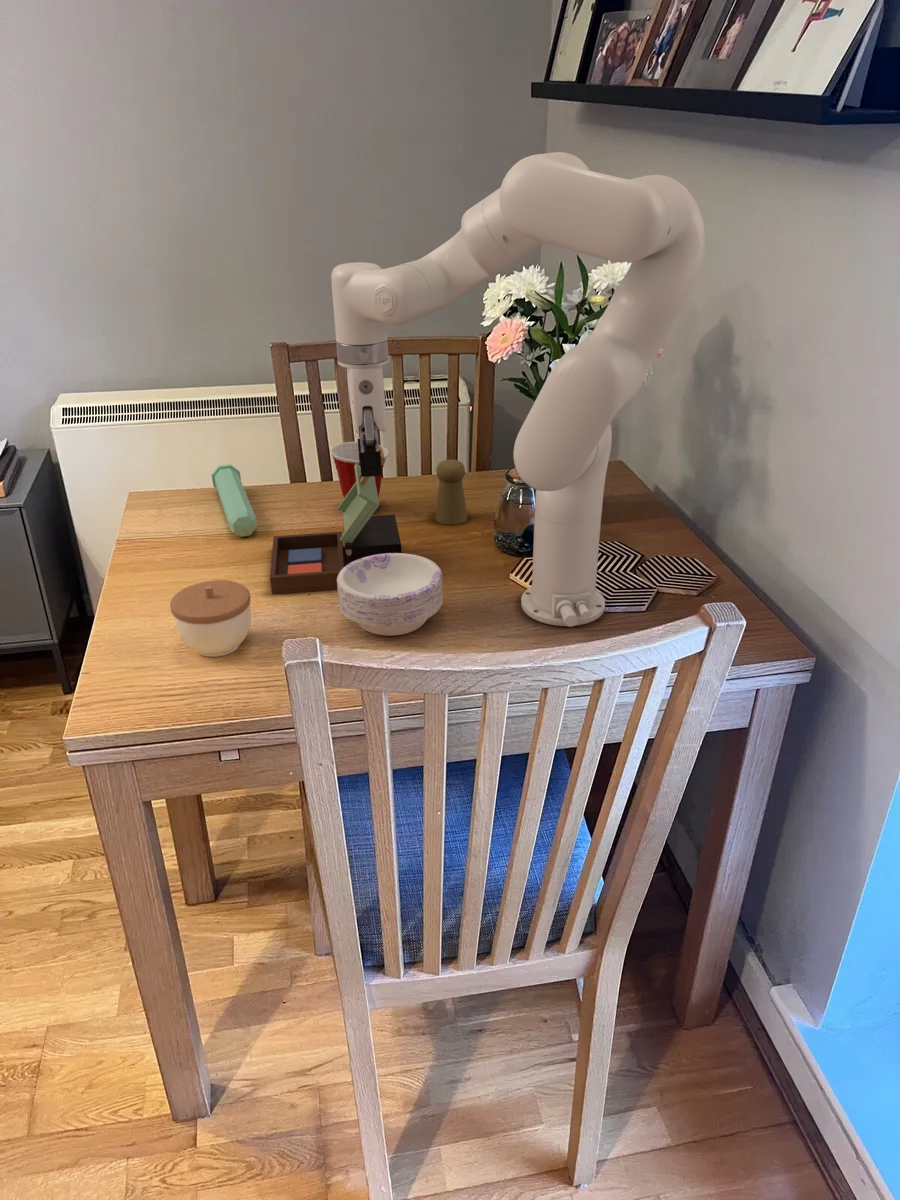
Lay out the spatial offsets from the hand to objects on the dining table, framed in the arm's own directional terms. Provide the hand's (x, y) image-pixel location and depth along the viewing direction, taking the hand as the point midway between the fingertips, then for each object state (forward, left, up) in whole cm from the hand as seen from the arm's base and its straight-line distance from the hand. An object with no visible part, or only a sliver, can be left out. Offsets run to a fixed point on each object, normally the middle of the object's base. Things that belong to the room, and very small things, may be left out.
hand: (370, 467), depth 137 cm
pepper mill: (+17, -15, -17) cm, 28 cm away
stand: (0, +1, -17) cm, 17 cm away
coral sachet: (-3, +12, -16) cm, 20 cm away
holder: (0, +11, -17) cm, 20 cm away
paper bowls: (-19, -1, -17) cm, 26 cm away
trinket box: (-22, +24, -17) cm, 37 cm away
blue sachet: (+3, +12, -16) cm, 20 cm away
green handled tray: (0, 0, -5) cm, 5 cm away
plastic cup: (+24, +1, -17) cm, 30 cm away
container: (+26, +25, -17) cm, 40 cm away
